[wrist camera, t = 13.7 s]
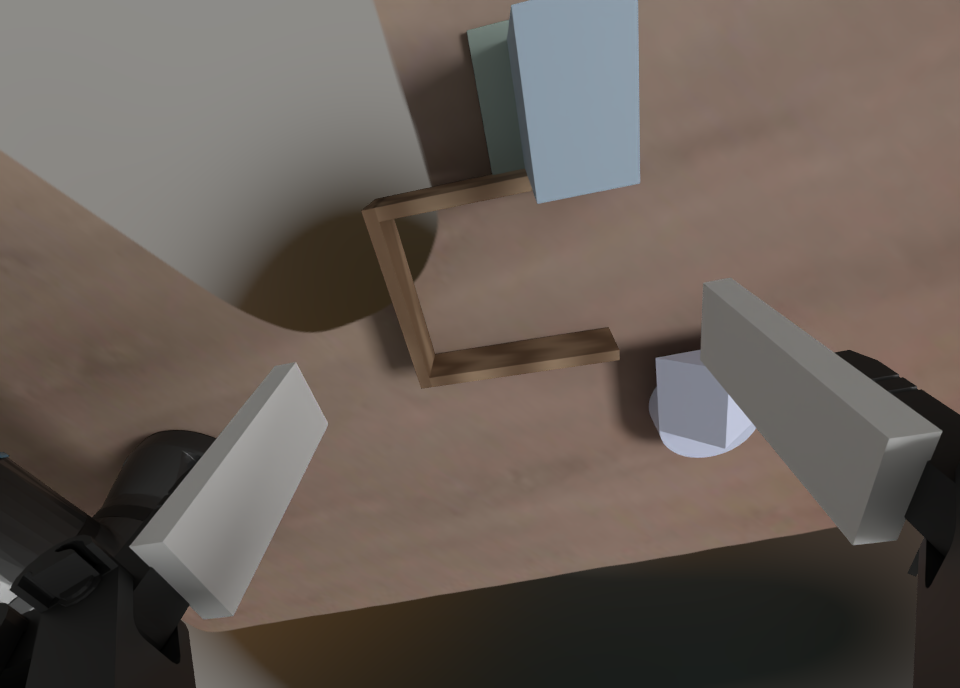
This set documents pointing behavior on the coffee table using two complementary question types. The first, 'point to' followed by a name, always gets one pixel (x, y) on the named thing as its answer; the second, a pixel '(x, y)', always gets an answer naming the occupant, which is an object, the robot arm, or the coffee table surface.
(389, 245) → the shelf bay
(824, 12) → the coffee table surface
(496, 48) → the felt pad
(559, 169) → the block
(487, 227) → the coffee table surface
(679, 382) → the wedge on round base
